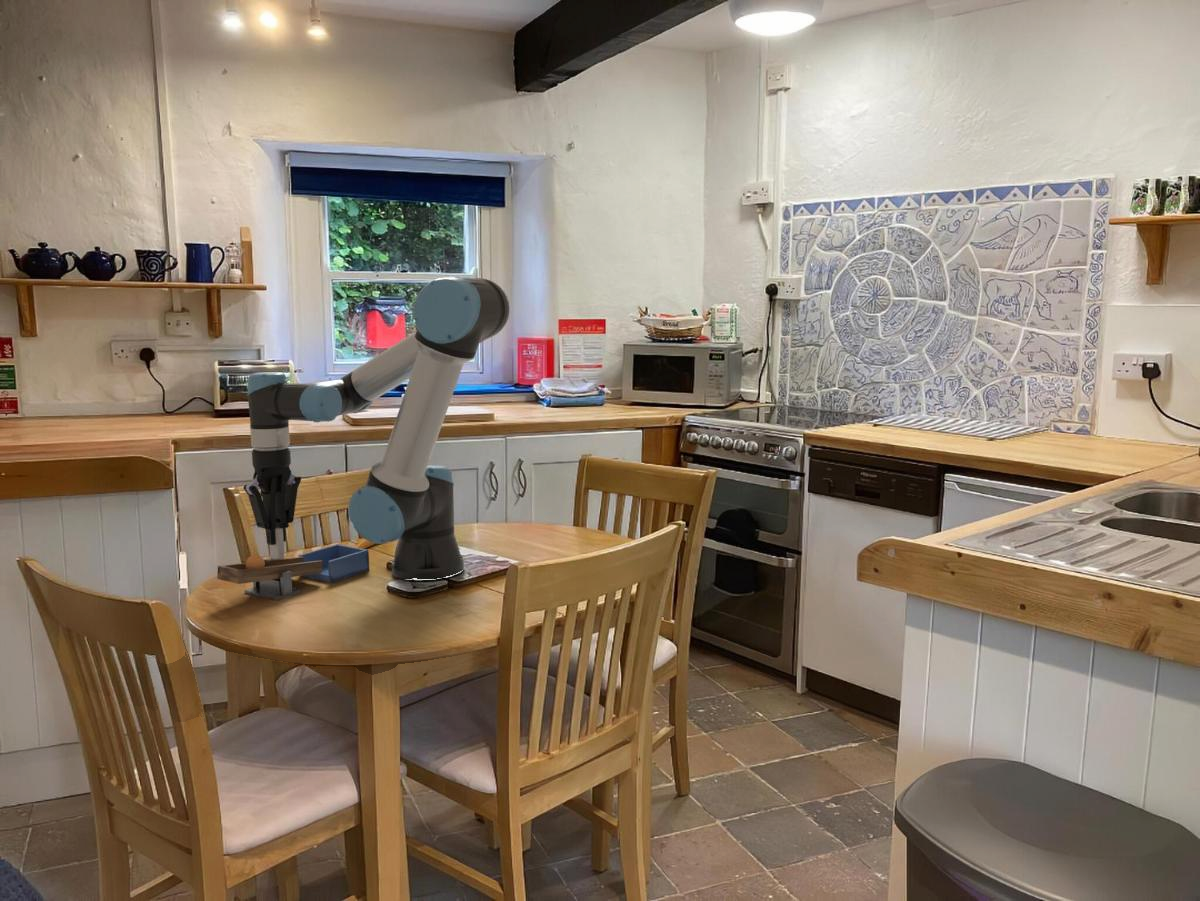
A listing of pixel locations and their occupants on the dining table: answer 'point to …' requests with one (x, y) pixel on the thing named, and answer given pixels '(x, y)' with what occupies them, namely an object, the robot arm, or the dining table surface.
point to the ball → (255, 562)
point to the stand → (274, 588)
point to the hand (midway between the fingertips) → (277, 558)
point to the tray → (338, 562)
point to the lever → (268, 570)
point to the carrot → (364, 544)
